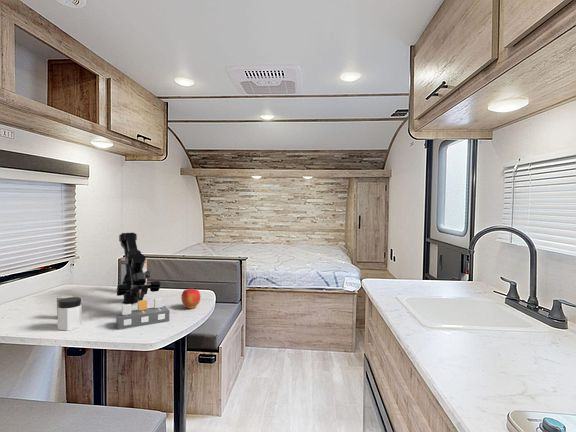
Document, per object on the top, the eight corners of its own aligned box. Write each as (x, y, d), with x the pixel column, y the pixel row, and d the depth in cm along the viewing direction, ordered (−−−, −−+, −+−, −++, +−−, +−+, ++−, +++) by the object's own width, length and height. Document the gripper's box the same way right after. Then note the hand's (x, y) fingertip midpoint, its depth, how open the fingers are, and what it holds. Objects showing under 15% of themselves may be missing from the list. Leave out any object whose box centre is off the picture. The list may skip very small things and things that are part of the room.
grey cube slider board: (116, 323, 153) (116, 312, 153) (165, 316, 164) (165, 305, 164) (118, 329, 146) (118, 317, 146) (169, 321, 157) (169, 310, 157)
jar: (78, 322, 154) (78, 295, 153) (85, 326, 149) (85, 299, 148) (54, 327, 147) (54, 299, 147) (61, 332, 142) (61, 303, 141)
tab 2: (137, 309, 156) (137, 300, 156) (146, 308, 158) (146, 299, 158) (138, 310, 155) (138, 301, 155) (146, 309, 157) (146, 300, 157)
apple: (200, 310, 174) (200, 290, 174) (180, 311, 172) (180, 291, 172) (200, 304, 183) (200, 286, 183) (182, 305, 181) (182, 286, 181)
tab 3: (154, 307, 160) (154, 298, 160) (161, 306, 162) (161, 297, 162) (154, 308, 159) (154, 299, 158) (162, 307, 161) (162, 298, 160)
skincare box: (74, 317, 161) (73, 295, 161) (66, 320, 157) (66, 298, 156) (64, 316, 162) (64, 295, 161) (56, 319, 157) (56, 297, 157)
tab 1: (121, 314, 150) (121, 305, 149) (130, 312, 152) (130, 303, 151) (122, 315, 148) (122, 306, 148) (131, 314, 150) (131, 304, 150)
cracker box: (147, 293, 203) (147, 258, 203) (139, 296, 198) (139, 260, 197) (128, 291, 208) (128, 257, 207) (120, 293, 202) (120, 258, 201)
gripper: (117, 267, 158) (120, 296, 149) (159, 264, 168) (165, 291, 159) (115, 281, 164) (118, 310, 156) (156, 277, 175) (161, 304, 166)
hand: (141, 303), depth 159 cm, fingers closed
